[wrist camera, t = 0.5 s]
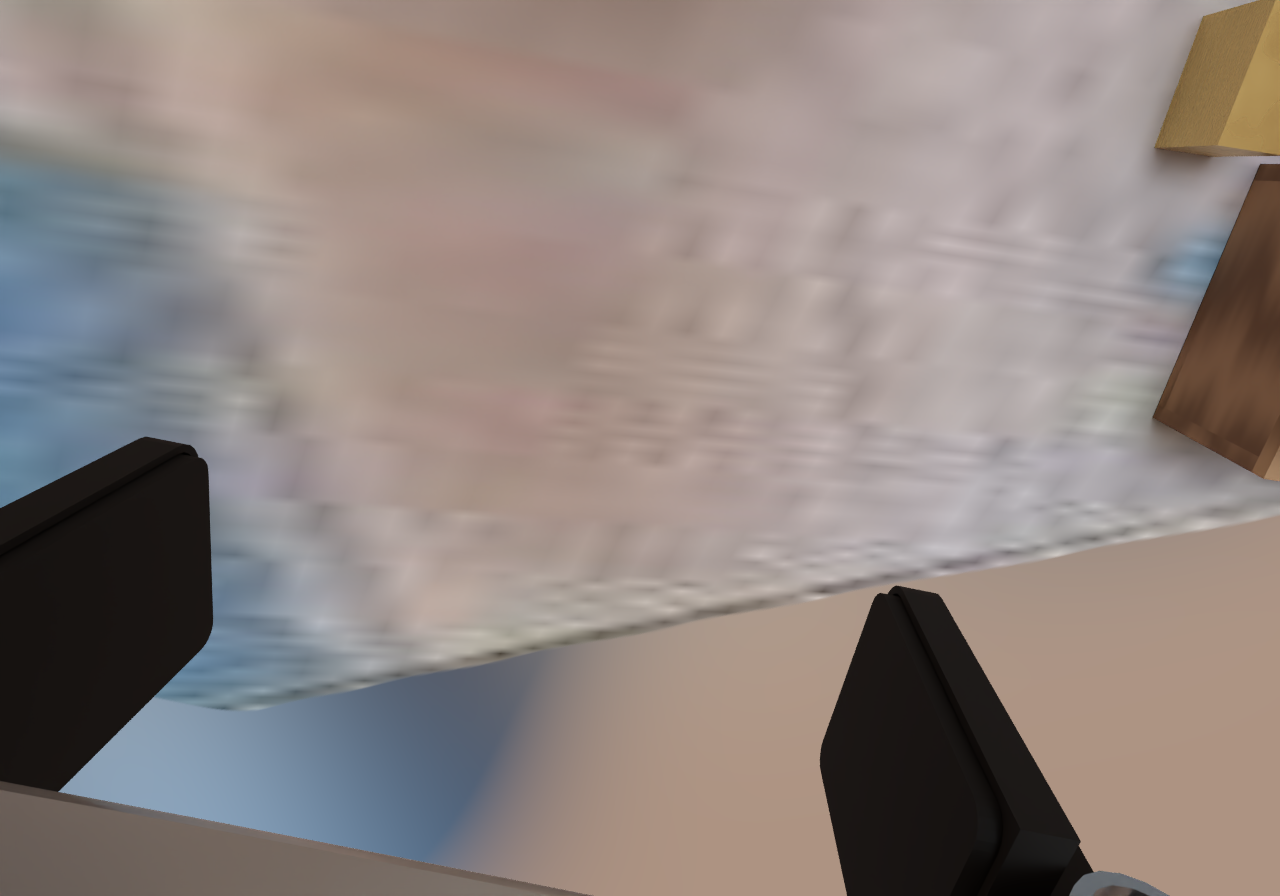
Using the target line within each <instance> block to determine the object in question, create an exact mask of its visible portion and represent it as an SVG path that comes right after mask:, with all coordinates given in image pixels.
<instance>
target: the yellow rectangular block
mask: <svg viewBox="0 0 1280 896" xmlns="http://www.w3.org/2000/svg"><path fill="white" fill-rule="evenodd" d="M1154 148H1160V149H1166V150H1173V151H1179V152H1185V153H1192V154H1198V155H1204V156H1211V157H1223V156H1280V0H1258V1H1255V2H1251V3H1248V4H1244V5H1241V6H1238V7H1234V8H1231V9H1227V10H1224V11H1220V12H1217V13H1213V14H1210V15H1206V16H1203V19H1202V21H1201V24H1200V27H1199V29H1198V32H1197V35H1196V37H1195V40H1194V43H1193V45H1192V48H1191V51H1190V53H1189V56H1188V59H1187V62H1186V64H1185V67H1184V70H1183V72H1182V75H1181V78H1180V80H1179V83H1178V86H1177V88H1176V91H1175V94H1174V96H1173V99H1172V102H1171V104H1170V107H1169V110H1168V112H1167V115H1166V118H1165V120H1164V123H1163V126H1162V128H1161V131H1160V134H1159V137H1158V139H1157V142H1156V145H1155V147H1154Z"/></svg>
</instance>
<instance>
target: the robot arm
mask: <svg viewBox="0 0 1280 896" xmlns="http://www.w3.org/2000/svg"><path fill="white" fill-rule="evenodd" d="M212 626H213V602H212V571H211V539H210V508H209V477H208V466H207V464H206V462H205V460H203V459H202V458H198V454H197V452H196V450H195V449H194V448H193V447H192V446H191V445H186V444H181V443H176V442H171V441H166V440H161V439H156V438H150V437H143V438H140V439H138V440H136V441H134V442H132V443H130V444H128V445H126V446H124V447H122V448H120V449H118V450H116V451H114V452H112V453H110V454H108V455H106V456H104V457H102V458H100V459H98V460H96V461H94V462H92V463H90V464H88V465H86V466H84V467H82V468H80V469H78V470H76V471H74V472H72V473H70V474H68V475H66V476H64V477H62V478H60V479H58V480H56V481H54V482H52V483H50V484H48V485H46V486H44V487H42V488H40V489H38V490H36V491H34V492H32V493H30V494H28V495H26V496H24V497H22V498H20V499H18V500H16V501H14V502H12V503H10V504H8V505H6V506H4V507H2V508H0V896H591V895H587V894H582V893H576V892H572V891H566V890H562V889H556V888H551V887H547V886H541V885H537V884H532V883H527V882H522V881H516V880H512V879H507V878H502V877H497V876H491V875H486V874H481V873H476V872H471V871H466V870H461V869H456V868H451V867H445V866H441V865H435V864H430V863H425V862H420V861H415V860H409V859H405V858H400V857H395V856H389V855H384V854H379V853H374V852H369V851H364V850H358V849H354V848H348V847H343V846H338V845H333V844H328V843H323V842H317V841H312V840H307V839H302V838H297V837H292V836H287V835H281V834H276V833H271V832H265V831H260V830H255V829H250V828H245V827H240V826H234V825H230V824H225V823H219V822H214V821H209V820H204V819H198V818H193V817H188V816H182V815H177V814H172V813H166V812H161V811H155V810H150V809H145V808H140V807H134V806H129V805H124V804H119V803H113V802H108V801H103V800H97V799H92V798H87V797H81V796H76V795H71V794H66V793H60V792H58V791H60V790H61V788H62V787H64V786H65V785H66V784H67V783H68V782H69V781H70V779H72V778H73V777H74V776H75V775H76V774H77V772H78V771H80V770H81V769H82V768H83V767H84V766H85V765H86V764H87V763H88V762H89V761H90V760H91V759H92V758H93V757H94V756H95V755H96V754H97V753H98V752H99V751H100V750H101V749H102V748H103V747H104V746H105V745H106V744H107V743H108V742H109V741H110V740H111V739H112V738H113V737H114V736H115V735H116V734H117V733H118V731H120V730H121V729H122V728H123V727H124V726H125V725H126V724H127V723H128V722H129V721H130V720H131V718H133V717H134V716H135V715H136V714H137V713H138V712H139V711H140V710H141V709H142V708H143V707H144V706H145V705H146V704H147V703H148V702H149V701H150V700H151V699H152V698H153V697H154V696H155V695H156V694H157V693H158V692H159V691H160V690H161V689H162V688H163V687H164V686H165V685H166V684H167V683H168V682H169V681H170V680H171V679H172V678H173V677H174V676H175V675H176V674H177V673H178V672H179V671H180V670H181V669H182V668H183V667H184V666H185V665H186V664H187V663H188V662H189V661H190V660H191V659H192V658H193V657H194V656H195V655H196V654H197V653H198V652H199V651H200V650H201V649H202V648H203V647H204V645H205V644H206V642H207V640H208V639H209V636H210V634H211V630H212ZM820 769H821V774H822V779H823V784H824V788H825V793H826V798H827V803H828V807H829V812H830V817H831V822H832V826H833V831H834V836H835V840H836V845H837V850H838V855H839V859H840V864H841V869H842V874H843V878H844V883H845V888H846V892H847V896H1169V895H1167V894H1165V893H1164V892H1162V891H1160V890H1158V889H1156V888H1154V887H1153V886H1151V885H1149V884H1147V883H1145V882H1143V881H1140V880H1137V879H1135V878H1132V877H1129V876H1126V875H1124V874H1120V873H1111V872H1104V871H1098V872H1093V870H1092V868H1091V867H1090V865H1089V863H1088V861H1087V860H1086V858H1085V856H1084V854H1083V853H1082V851H1081V849H1080V847H1079V844H1080V839H1079V838H1078V836H1077V834H1076V832H1075V830H1074V829H1073V827H1072V825H1071V823H1070V822H1069V820H1068V818H1067V817H1066V815H1065V813H1064V811H1063V809H1062V808H1061V806H1060V804H1059V802H1058V801H1057V799H1056V797H1055V795H1054V794H1053V792H1052V790H1051V788H1050V787H1049V785H1048V784H1047V782H1046V780H1045V778H1044V776H1043V774H1042V773H1041V771H1040V769H1039V768H1038V766H1037V764H1036V762H1035V761H1034V759H1033V757H1032V756H1031V754H1030V752H1029V750H1028V748H1027V747H1026V745H1025V743H1024V741H1023V740H1022V738H1021V736H1020V734H1019V733H1018V731H1017V729H1016V727H1015V726H1014V724H1013V722H1012V720H1011V719H1010V717H1009V715H1008V713H1007V712H1006V710H1005V708H1004V706H1003V705H1002V703H1001V701H1000V699H999V698H998V696H997V694H996V692H995V691H994V689H993V687H992V685H991V684H990V682H989V680H988V679H987V677H986V675H985V673H984V671H983V670H982V668H981V666H980V664H979V663H978V661H977V659H976V658H975V656H974V654H973V652H972V650H971V649H970V647H969V645H968V643H967V642H966V640H965V638H964V636H963V635H962V633H961V631H960V630H959V628H958V626H957V624H956V623H955V621H954V619H953V617H952V616H951V614H950V612H949V610H948V609H947V607H946V605H945V603H944V602H943V600H942V598H941V597H940V596H939V595H938V594H936V593H931V592H926V591H921V590H916V589H911V588H906V587H901V586H894V587H893V588H892V589H891V590H890V591H889V593H888V594H883V593H879V594H877V596H876V597H875V598H874V601H873V603H872V605H871V608H870V611H869V614H868V617H867V619H866V622H865V625H864V628H863V631H862V634H861V636H860V639H859V642H858V645H857V647H856V650H855V653H854V656H853V658H852V662H851V664H850V667H849V670H848V673H847V675H846V678H845V681H844V684H843V687H842V690H841V692H840V695H839V698H838V701H837V703H836V706H835V709H834V712H833V714H832V717H831V720H830V723H829V726H828V728H827V731H826V734H825V737H824V739H823V743H822V747H821V753H820Z"/></svg>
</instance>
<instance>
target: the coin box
mask: <svg viewBox="0 0 1280 896" xmlns="http://www.w3.org/2000/svg"><path fill="white" fill-rule="evenodd" d="M1153 418H1155V419H1156V420H1158V421H1160V422H1162V423H1164V424H1165V425H1167V426H1169V427H1171V428H1173V429H1174V430H1176V431H1178V432H1180V433H1182V434H1184V435H1185V436H1187V437H1189V438H1191V439H1193V440H1194V441H1196V442H1198V443H1200V444H1202V445H1203V446H1205V447H1207V448H1209V449H1211V450H1213V451H1214V452H1216V453H1218V454H1220V455H1222V456H1223V457H1225V458H1227V459H1229V460H1231V461H1232V462H1234V463H1236V464H1238V465H1240V466H1241V467H1243V468H1245V469H1247V470H1249V471H1251V472H1252V473H1254V474H1256V475H1258V476H1260V477H1261V478H1263V479H1269V480H1275V481H1280V164H1260V167H1259V169H1258V172H1257V174H1256V176H1255V179H1254V181H1253V183H1252V186H1251V188H1250V190H1249V193H1248V195H1247V197H1246V200H1245V202H1244V204H1243V207H1242V209H1241V212H1240V214H1239V216H1238V219H1237V221H1236V223H1235V226H1234V228H1233V230H1232V233H1231V235H1230V237H1229V240H1228V242H1227V244H1226V247H1225V249H1224V252H1223V254H1222V256H1221V259H1220V261H1219V263H1218V266H1217V268H1216V270H1215V273H1214V275H1213V277H1212V280H1211V282H1210V284H1209V287H1208V289H1207V291H1206V294H1205V296H1204V299H1203V301H1202V303H1201V306H1200V308H1199V310H1198V313H1197V315H1196V317H1195V320H1194V322H1193V324H1192V327H1191V329H1190V331H1189V334H1188V336H1187V339H1186V341H1185V343H1184V346H1183V348H1182V350H1181V353H1180V355H1179V357H1178V360H1177V362H1176V364H1175V367H1174V369H1173V371H1172V374H1171V376H1170V378H1169V381H1168V383H1167V386H1166V388H1165V390H1164V393H1163V395H1162V397H1161V400H1160V402H1159V404H1158V407H1157V409H1156V411H1155V414H1154V416H1153Z"/></svg>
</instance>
